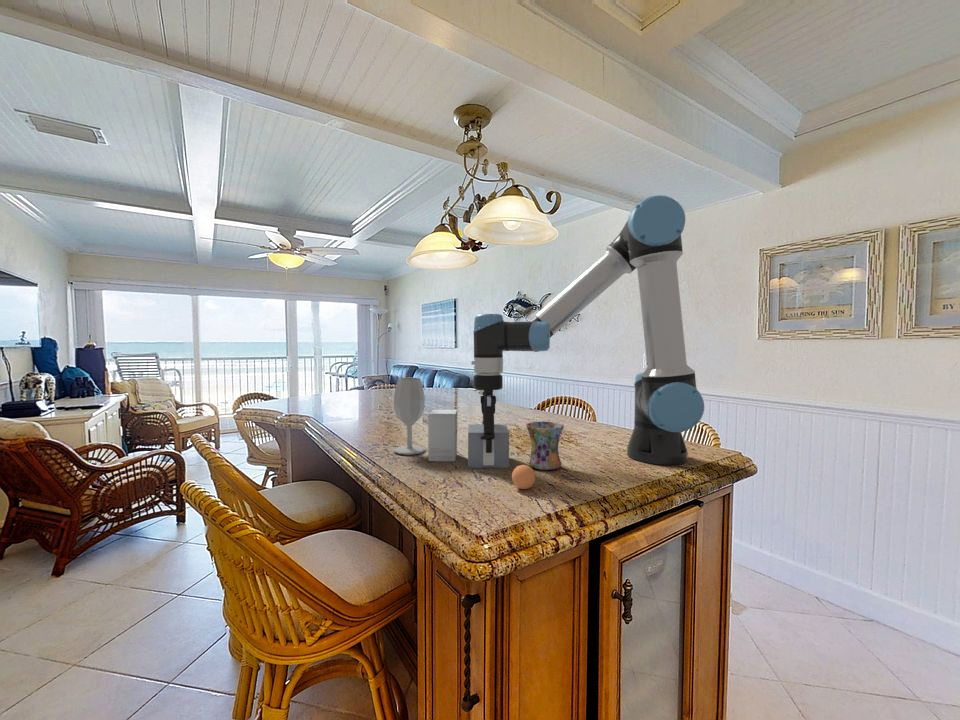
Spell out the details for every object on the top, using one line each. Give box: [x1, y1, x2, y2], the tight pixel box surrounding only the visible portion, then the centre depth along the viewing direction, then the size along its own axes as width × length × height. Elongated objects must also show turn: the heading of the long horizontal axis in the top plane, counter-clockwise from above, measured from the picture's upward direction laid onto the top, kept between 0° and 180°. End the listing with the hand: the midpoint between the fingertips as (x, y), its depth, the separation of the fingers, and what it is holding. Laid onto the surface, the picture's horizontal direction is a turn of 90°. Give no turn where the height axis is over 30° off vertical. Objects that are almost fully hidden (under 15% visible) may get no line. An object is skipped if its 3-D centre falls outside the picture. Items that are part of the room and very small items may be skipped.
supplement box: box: [427, 409, 458, 462], centre depth 112 cm, size 7×7×13 cm
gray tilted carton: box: [467, 423, 510, 469], centre depth 109 cm, size 10×10×9 cm
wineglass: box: [392, 376, 427, 456], centre depth 118 cm, size 9×9×21 cm
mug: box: [525, 420, 565, 471], centre depth 106 cm, size 12×9×11 cm
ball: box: [511, 464, 536, 490], centre depth 89 cm, size 5×5×5 cm
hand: (487, 458), depth 109 cm, fingers closed on gray tilted carton, 10 cm apart
